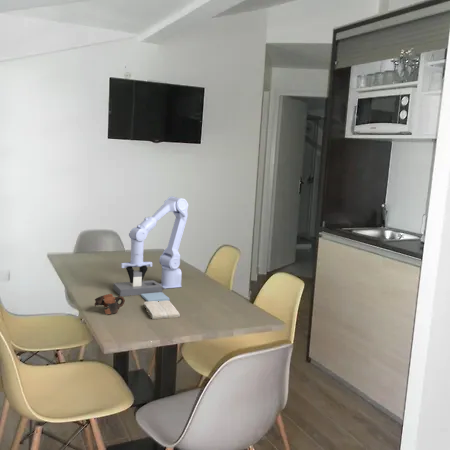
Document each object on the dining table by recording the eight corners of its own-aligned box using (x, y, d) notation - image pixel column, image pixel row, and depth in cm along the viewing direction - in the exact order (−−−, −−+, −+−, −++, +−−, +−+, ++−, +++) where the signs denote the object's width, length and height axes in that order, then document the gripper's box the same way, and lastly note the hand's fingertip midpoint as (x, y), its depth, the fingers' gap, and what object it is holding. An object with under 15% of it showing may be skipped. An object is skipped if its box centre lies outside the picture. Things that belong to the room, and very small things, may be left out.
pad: (161, 294, 229) (161, 292, 229) (169, 300, 220) (169, 298, 220) (141, 296, 224) (141, 293, 224) (148, 302, 216) (148, 300, 216)
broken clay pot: (99, 317, 195) (93, 297, 196) (98, 320, 203) (92, 301, 205) (128, 308, 199) (122, 288, 200) (126, 311, 207) (120, 292, 209)
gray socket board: (153, 286, 242) (153, 280, 241) (162, 292, 231) (162, 286, 231) (113, 289, 232) (113, 282, 232) (120, 296, 222) (120, 289, 222)
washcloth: (168, 305, 215) (169, 298, 215) (180, 318, 199) (181, 311, 199) (141, 306, 211) (142, 299, 210) (151, 321, 195) (152, 313, 194)
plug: (138, 288, 234) (139, 270, 233) (141, 291, 230) (142, 272, 229) (130, 289, 232) (131, 270, 231) (133, 291, 229) (133, 272, 227)
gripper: (124, 256, 222) (123, 285, 224) (154, 254, 229) (153, 283, 231) (119, 252, 228) (119, 281, 230) (149, 251, 235) (148, 279, 237)
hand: (136, 282), depth 231 cm, fingers closed on plug, 4 cm apart
